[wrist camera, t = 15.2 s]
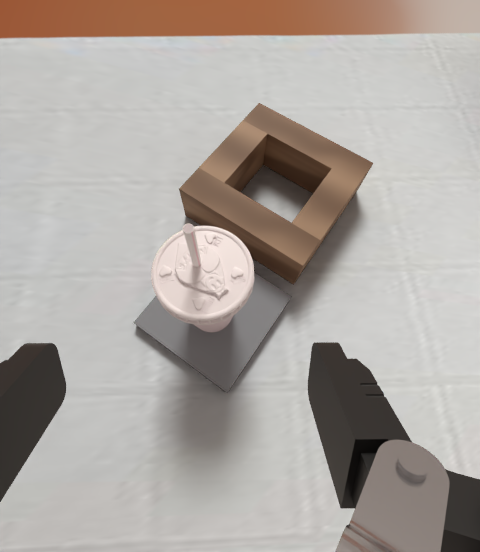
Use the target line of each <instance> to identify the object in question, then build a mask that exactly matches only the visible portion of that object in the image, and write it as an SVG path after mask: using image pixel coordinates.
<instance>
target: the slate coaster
mask: <svg viewBox="0 0 480 552" xmlns="http://www.w3.org/2000/svg"><path fill="white" fill-rule="evenodd" d="M291 297H292V296H290V295H288V294H287V293H285V292H284V291H282V290H281V289H279V288H278V287H276V286H275V285H273V284H272V283H270V282H268V281H267V280H265V279H264V278H262V277H261V276H259V275H258V274H256V273H255V272H254V284H253V289H252V293H251V294H250V296H249V298H248V300H247V302H246V304H245V305H244V306H243V307H242V308H241V309H240V310H239V311H238V312H237V313H236V314H234V316H233V317H232V319H231V321H230V323H229V324H228V325H227V326H226V327H225V328H224V329H222V330H220V331H218V332H205V331H203V330H201V329H199V328H198V327H196V326H195V325H193V324H190V323H185V322H183V321H181V320H179V319H177V318H175V317H173V316H172V315H171V314H170V313H169V312H167V311H166V310H165V309H164V308H163V307H162V305H161V303H160V302H159V300H158V298H157V297H156V296H155V298H154V299H153V300H152V301H151V302H150V304H149V305H148V306H147V307H146V308H145V310H144V311H143V312H142V313H141V314H140V316H139V317H138V318H137V319H136V320H135V321H134V324H136V325H137V326H138V327H139V328H141V329H142V330H144V331H145V332H146V333H148V334H149V335H150V336H152V337H153V338H154V339H156V340H157V341H158V342H160V343H161V344H162V345H164V346H165V347H166V348H168V349H169V350H170V351H172V352H173V353H174V354H176V355H177V356H178V357H180V358H181V359H182V360H184V361H185V362H186V363H188V364H189V365H190V366H192V367H193V368H194V369H196V370H197V371H198V372H200V373H201V374H202V375H204V376H205V377H206V378H208V379H209V380H210V381H212V382H213V383H214V384H216V385H217V386H218V387H220V388H221V389H222V390H224V391H225V392H226V393H228V391H229V390H230V388H231V387H232V385H233V384H234V382H235V381H236V379H237V378H238V376H239V375H240V373H241V372H242V370H243V369H244V367H245V366H246V364H247V363H248V361H249V360H250V358H251V357H252V355H253V354H254V352H255V351H256V349H257V348H258V346H259V345H260V344H261V342H262V341H263V339H264V338H265V336H266V335H267V333H268V332H269V330H270V329H271V327H272V326H273V324H274V323H275V321H276V320H277V318H278V317H279V315H280V314H281V312H282V311H283V309H284V308H285V306H286V305H287V303H288V302H289V300H290V299H291Z"/></svg>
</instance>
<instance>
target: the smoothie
mask: <svg viewBox="0 0 480 552" xmlns="http://www.w3.org/2000/svg"><path fill="white" fill-rule="evenodd" d="M151 279H152V285H153V289H154V291H155V294H156V297H157V298H158V300H159V302H160V303H161V305H162V307H163V308H164V309H165V310H166V311H167V312H169V313H170V314H171V315H172V316H173V317H175V318H177V319H179V320H181V321H183V322H185V323H190V324H193V325H195V326H196V327H198V328H199V329H201V330H203V331H205V332H218V331H220V330H222V329H224V328H225V327H226V326H227V325H228V324H229V323H230V321H231V319H232V317H233V316H234V314H236V313H237V312H238V311H239V310H240V309H241V308H242V307H243V306H244V305H245V304H246V302H247V300H248V298H249V296H250V294H251V293H252V289H253V284H254V265H253V260H252V257H251V254H250V252H249V250H248V249H247V247H246V246H245V244H244V243H243V242H242V241H241V240H240V239H239V238H238V237H236V236H235V235H234V234H232V233H231V232H229V231H227V230H224V229H221V228H218V227H213V226H195V227H194V226H193V225H192V224H189V223H188V224H185V225H184V226H183V230H182V231H180V232H178V233H176V234H174V235H173V236H171V237H170V238H169V239H168V240H167V241H166V242H165V243H164V244H163V245H162V246H161V247H160V249H159V250H158V252H157V254H156V256H155V258H154V261H153V264H152V270H151Z"/></svg>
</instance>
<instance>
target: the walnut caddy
mask: <svg viewBox="0 0 480 552" xmlns="http://www.w3.org/2000/svg"><path fill="white" fill-rule="evenodd" d="M263 165H264V166H266V167H268V168H270V169H271V170H273V171H275V172H277V173H278V174H280V175H282V176H284V177H285V178H287V179H289V180H291V181H292V182H294V183H296V184H298V185H300V186H301V187H303V188H305V189H307V190H308V191H310V192H312V193H313V195H312V196H311V197H310V199H309V200H308V202H307V203H306V204H305V206H304V207H303V208H302V210H301V211H300V212H299V214H298V215H297V216H296V218H295V219H294V220H293V222H292V223H291V222H289V221H287V220H286V219H284V218H282V217H281V216H279V215H277V214H276V213H274V212H272V211H271V210H269V209H267V208H266V207H264V206H262V205H261V204H259V203H257V202H256V201H254V200H252V199H251V198H249V197H247V196H246V195H244V194H242V193H240V192H241V191H242V190H243V188H244V187H245V186H246V185H247V184H248V183H249V181H250V180H251V179H252V178H253V177H254V175H255V174H256V173H257V172H258V171H259V169H260V168H261V167H262V166H263ZM372 165H373V163H372V162H370V161H368V160H366V159H365V158H363V157H361V156H359V155H357V154H355V153H353V152H351V151H349V150H347V149H346V148H344V147H342V146H340V145H338V144H336V143H334V142H332V141H330V140H328V139H327V138H325V137H323V136H321V135H319V134H317V133H315V132H313V131H311V130H309V129H308V128H306V127H304V126H302V125H300V124H298V123H296V122H294V121H292V120H290V119H289V118H287V117H285V116H283V115H281V114H279V113H277V112H275V111H273V110H271V109H270V108H268V107H266V106H264V105H262V104H260V103H259V104H258V105H257V106H256V107H255V108H254V109H253V110H252V111H251V112H250V113H249V114H248V116H247V117H246V118H245V119H244V120H243V121H242V122H241V123H240V124H239V125H238V126H237V127H236V128H235V130H234V131H233V132H232V133H231V134H230V135H229V136H228V137H227V138H226V139H225V140H224V141H223V142H222V143H221V145H220V146H219V147H218V148H217V149H216V150H215V151H214V152H213V153H212V154H211V155H210V156H209V157H208V158H207V160H206V161H205V162H204V163H203V164H202V165H201V166H200V167H199V168H198V169H197V170H196V171H195V172H194V173H193V175H192V176H191V177H190V178H189V179H188V180H187V181H186V182H185V183H184V184H183V185H182V186H181V187H180V188H179V190H180V194H181V198H182V202H183V206H184V211H185V215H186V216H187V217H189V218H190V219H192V220H193V221H195V222H196V223H198V224H199V225H201V226H213V227H218V228H221V229H224V230H227V231H229V232H231V233H232V234H234V235H235V236H236V237H238V238H239V239H240V240H241V241H242V242H243V243H244V244H245V246H246V247H247V249H248V250H249V252H250V254H251V257H252V258H253V259H254V260H256V261H257V262H259V263H261V264H262V265H264V266H265V267H267V268H268V269H270V270H272V271H273V272H275V273H276V274H278V275H279V276H281V277H282V278H284V279H286V280H287V281H289V282H290V283H292V284H293V285H294V283H295V282H296V280H297V279H298V277H299V276H300V274H301V273H302V271H303V270H304V269H305V267H306V266H307V264H308V263H309V261H310V260H311V258H312V257H313V255H314V254H315V252H316V251H317V249H318V248H319V246H320V245H321V243H322V242H323V240H324V239H325V238H326V236H327V235H328V233H329V232H330V230H331V229H332V227H333V226H334V224H335V223H336V221H337V220H338V218H339V217H340V215H341V214H342V212H343V211H344V210H345V208H346V207H347V205H348V204H349V202H350V201H351V199H352V198H353V196H354V195H355V193H356V192H357V190H358V188H359V187H360V185H361V183H362V182H363V180H364V178H365V176H366V175H367V173H368V171H369V170H370V168H371V166H372Z"/></svg>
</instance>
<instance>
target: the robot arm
mask: <svg viewBox="0 0 480 552" xmlns="http://www.w3.org/2000/svg"><path fill="white" fill-rule="evenodd" d="M65 393H66V381H65V377H64V373H63V369H62V366H61V362H60V358H59V354H58V350H57V347H56V346H55V345H54V344H53V343H27V344H24V345H23V346H22V347H20V349H19V350H18V351H17V352H16V353H15V354H14V355H13V356H12V357H11V358H10V359H9V360H5V361H3V362H2V363H0V502H1V500H2V498H3V497H4V495H5V494H6V492H7V490H8V489H9V487H10V486H11V484H12V482H13V481H14V479H15V478H16V476H17V474H18V473H19V471H20V470H21V468H22V466H23V465H24V463H25V462H26V460H27V459H28V457H29V455H30V454H31V452H32V451H33V449H34V447H35V446H36V444H37V443H38V441H39V439H40V438H41V436H42V435H43V433H44V431H45V430H46V428H47V427H48V425H49V424H50V422H51V420H52V419H53V417H54V416H55V414H56V412H57V411H58V409H59V408H60V406H61V404H62V403H63V400H64V397H65ZM308 395H309V401H310V405H311V408H312V411H313V415H314V418H315V422H316V425H317V429H318V432H319V435H320V439H321V442H322V446H323V449H324V453H325V456H326V459H327V463H328V466H329V470H330V473H331V477H332V480H333V483H334V487H335V490H336V494H337V497H338V501H339V504H340V507H341V508H355V511H354V513H353V516H352V519H351V521H350V523H349V525H347V526H346V527H345V529H344V532H343V534H342V536H341V539H340V541H339V544H338V546H337V549H336V551H335V552H480V480H479V479H475V478H472V477H468V476H464V475H461V474H457V473H454V472H451V471H448V470H446V469H445V468H444V467H443V465H442V464H441V463H440V461H439V460H438V459H437V458H436V457H435V456H434V455H433V454H431V453H430V452H429V451H427V450H426V449H424V448H423V447H421V446H419V445H417V444H415V443H412V441H411V440H410V438H409V436H408V435H407V433H406V431H405V430H404V428H403V426H402V424H401V423H400V421H399V419H398V418H397V416H396V414H395V413H394V411H393V409H392V407H391V406H390V404H389V402H388V401H387V399H386V397H384V394H383V392H382V390H381V389H380V387H379V386H378V385H377V382H376V380H375V378H374V377H373V375H372V373H371V371H370V370H369V369H368V368H367V367H365V366H364V365H363V364H362V363H361V362H360V361H358V360H357V359H347V358H346V356H345V354H344V352H343V350H342V348H341V346H340V344H339V343H314V344H313V346H312V352H311V361H310V369H309V378H308Z"/></svg>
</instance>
